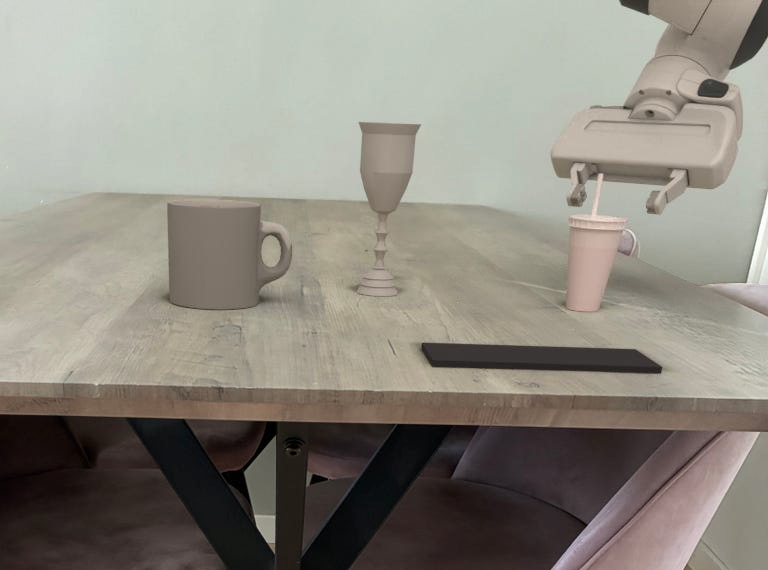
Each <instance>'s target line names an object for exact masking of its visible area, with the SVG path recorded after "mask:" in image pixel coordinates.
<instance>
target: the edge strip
mask: <svg viewBox="0 0 768 570" xmlns="http://www.w3.org/2000/svg"><path fill="white" fill-rule="evenodd" d="M420 346H421V347H420V349H421V351H422V352H423V354H424V355H425V357H426V359H427V360H428V362H429V364H430V366H431V367H432V368H434V367H435V368H461V369H462V368H464V369H491V370H492V369H493V370H494V369H495V370H496V369H497V370H529V371H530V370H532V371H558V372H559V371H560V372H561V371H563V372H565V371H566V372H593V373H595V372H596V373H597V372H598V373H625V374H626V373H627V374H629V373H630V374H657V375H658V374H662V372H663V366H662V365H660V364H659V363H657V362H656V361H655V360H653V359H651V358H650V357H648V356H647V355H645V354H643V353H642V352H641V351H640V350H638V349H636V348H610V347H609V348H608V347H581V346H580V347H576V346H549V345H547V346H546V345H515V344H514V345H513V344H483V343H482V344H481V343H479V344H478V343H453V342H452V343H451V342H450V343H449V342H421V345H420Z"/></svg>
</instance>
